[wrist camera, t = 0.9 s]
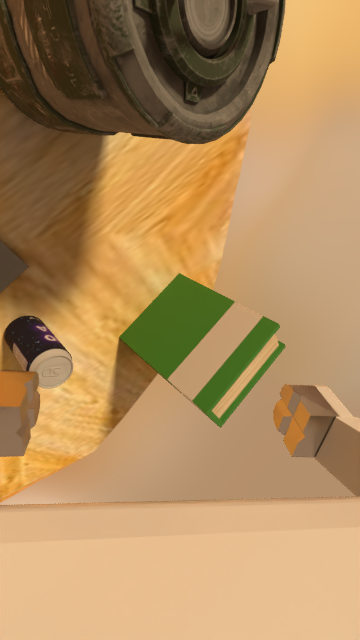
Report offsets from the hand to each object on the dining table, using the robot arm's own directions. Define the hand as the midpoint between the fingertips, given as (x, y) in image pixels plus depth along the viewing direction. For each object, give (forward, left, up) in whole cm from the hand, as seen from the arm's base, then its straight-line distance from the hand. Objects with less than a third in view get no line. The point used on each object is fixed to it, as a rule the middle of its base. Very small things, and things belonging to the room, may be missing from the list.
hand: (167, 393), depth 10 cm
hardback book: (+37, +10, -39) cm, 55 cm away
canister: (-5, +19, -39) cm, 44 cm away
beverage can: (+18, -8, -39) cm, 44 cm away
